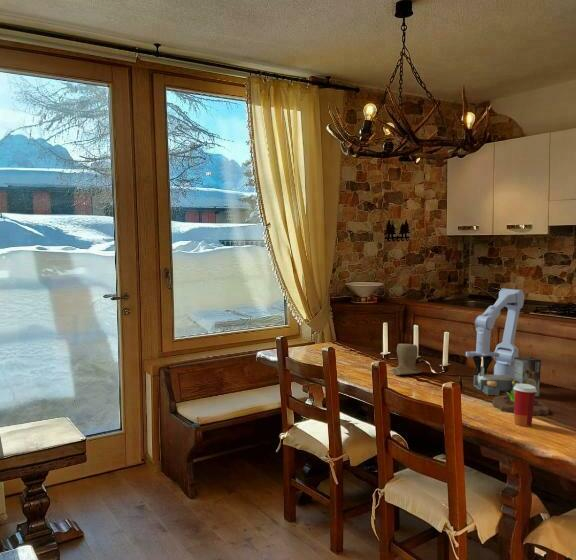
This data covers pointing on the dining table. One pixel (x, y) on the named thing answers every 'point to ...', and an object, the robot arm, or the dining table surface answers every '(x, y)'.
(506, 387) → the housing
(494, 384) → the plunger
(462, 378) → the dining table surface
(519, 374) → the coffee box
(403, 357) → the grey top hat
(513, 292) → the robot arm
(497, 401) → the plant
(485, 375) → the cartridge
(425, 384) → the dining table surface
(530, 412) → the paper cup
